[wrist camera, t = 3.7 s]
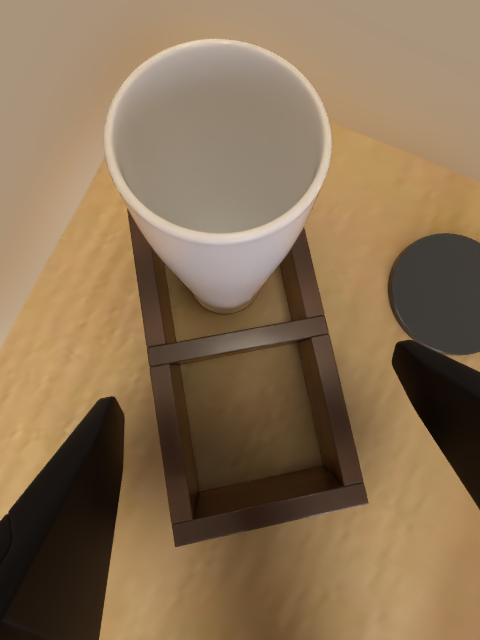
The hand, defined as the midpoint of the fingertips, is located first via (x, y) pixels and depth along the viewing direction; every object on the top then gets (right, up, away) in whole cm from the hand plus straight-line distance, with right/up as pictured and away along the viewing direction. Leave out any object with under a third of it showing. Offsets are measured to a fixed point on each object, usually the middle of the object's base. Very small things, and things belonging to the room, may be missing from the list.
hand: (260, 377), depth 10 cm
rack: (-1, 0, +13) cm, 13 cm away
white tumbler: (-2, +5, +14) cm, 15 cm away
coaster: (+16, +4, +14) cm, 22 cm away
